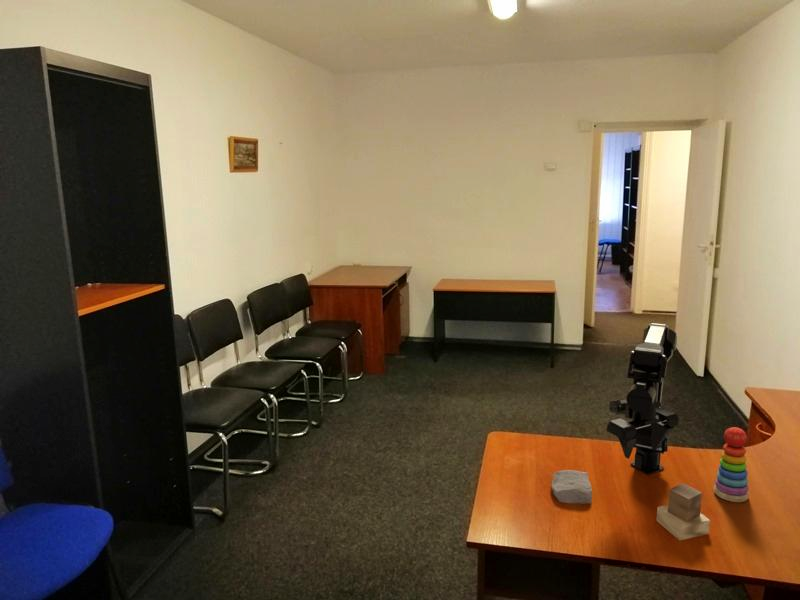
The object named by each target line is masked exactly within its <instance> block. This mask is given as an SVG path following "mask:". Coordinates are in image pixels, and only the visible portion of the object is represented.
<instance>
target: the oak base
mask: <svg viewBox="0 0 800 600" xmlns="http://www.w3.org/2000/svg"><path fill="white" fill-rule="evenodd" d="M656 509H657V511H656V520H655V521H657V523H659V524H660V526H662V527H663V528H665V529H666V530H667V531H668V532H669V533H670V534H671V535H673V537H675V538H676V539H677V540H678V541H683V540H688V539H692V538H696V537H698V538H699V537H703V536H706V535H709V534H710V533H709V532H710V526H711V525H710V524H711V520H710V519H709V518H708V517H707V516H705V514H703V513H701V512H700V516H698V517H696V518H694V519H692V520H690V521H688V522H685V521H683V520H682V519H680V518H678V517H676V516H674V515H672V514H671V513H669V512H668V504H667V505H661V506H657V508H656Z"/></svg>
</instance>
